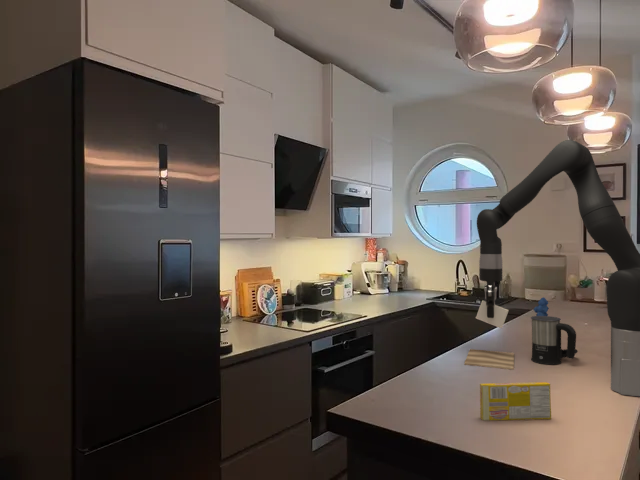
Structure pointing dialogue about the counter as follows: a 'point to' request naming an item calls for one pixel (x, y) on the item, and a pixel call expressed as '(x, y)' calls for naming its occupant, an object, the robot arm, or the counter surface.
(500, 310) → the card box
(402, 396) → the counter surface
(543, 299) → the grapes
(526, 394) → the candy box
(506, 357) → the mat
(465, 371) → the counter surface
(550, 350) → the milk frother
